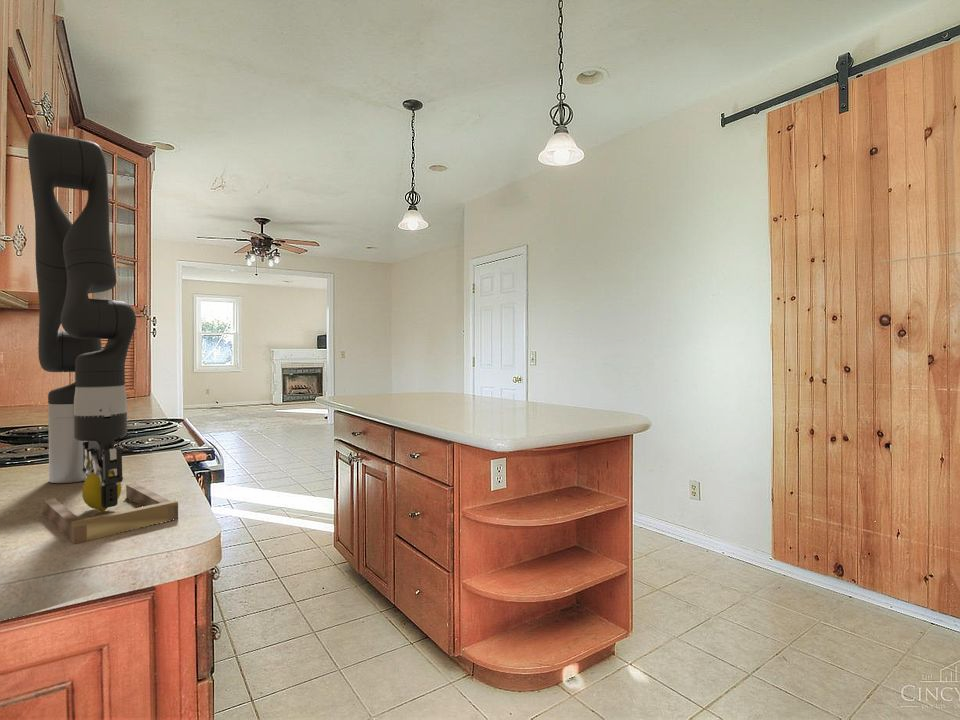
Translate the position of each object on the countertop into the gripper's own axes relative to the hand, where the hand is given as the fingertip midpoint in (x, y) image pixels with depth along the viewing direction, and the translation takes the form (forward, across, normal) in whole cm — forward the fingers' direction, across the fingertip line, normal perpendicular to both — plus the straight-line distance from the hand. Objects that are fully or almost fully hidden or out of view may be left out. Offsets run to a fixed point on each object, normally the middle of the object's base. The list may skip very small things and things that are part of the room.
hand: (102, 501), depth 89 cm
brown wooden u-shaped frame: (+2, +4, 0) cm, 4 cm away
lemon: (+2, 0, 0) cm, 2 cm away
